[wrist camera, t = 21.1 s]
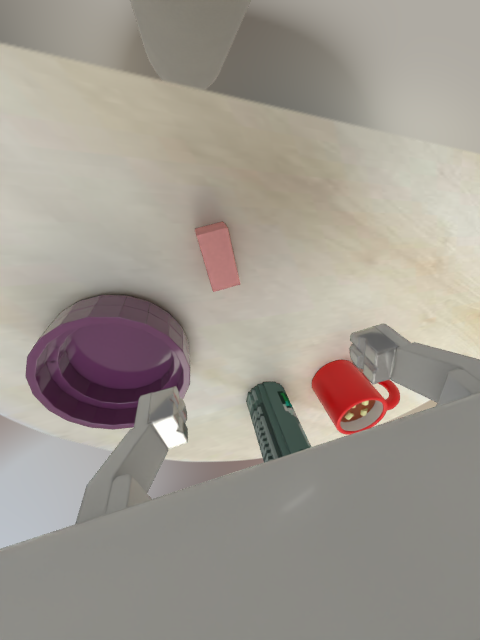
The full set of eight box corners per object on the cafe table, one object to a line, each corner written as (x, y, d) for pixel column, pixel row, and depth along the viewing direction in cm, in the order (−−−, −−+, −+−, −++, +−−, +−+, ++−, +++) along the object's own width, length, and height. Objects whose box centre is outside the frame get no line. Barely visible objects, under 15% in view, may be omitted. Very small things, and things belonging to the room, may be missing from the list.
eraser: (194, 228, 26) (196, 235, 23) (222, 221, 26) (227, 227, 23) (210, 281, 29) (213, 292, 27) (235, 274, 29) (240, 284, 27)
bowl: (18, 314, 27) (-16, 345, 22) (163, 275, 28) (160, 297, 23) (93, 407, 35) (80, 443, 30) (202, 375, 36) (206, 405, 31)
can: (278, 407, 43) (319, 505, 31) (244, 409, 42) (272, 514, 29) (286, 381, 40) (336, 478, 28) (250, 382, 39) (285, 485, 26)
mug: (374, 382, 45) (407, 419, 39) (311, 399, 44) (334, 440, 37) (381, 349, 41) (420, 383, 34) (312, 366, 40) (338, 406, 33)
